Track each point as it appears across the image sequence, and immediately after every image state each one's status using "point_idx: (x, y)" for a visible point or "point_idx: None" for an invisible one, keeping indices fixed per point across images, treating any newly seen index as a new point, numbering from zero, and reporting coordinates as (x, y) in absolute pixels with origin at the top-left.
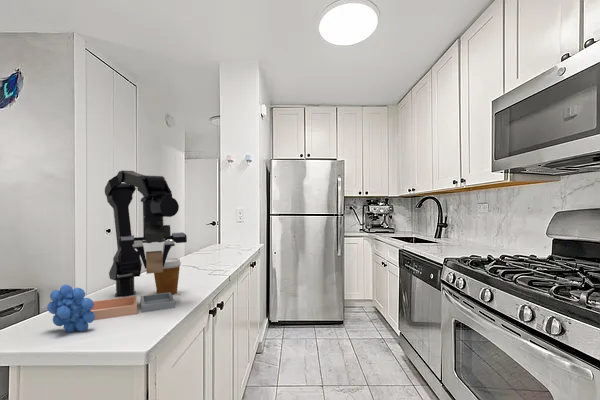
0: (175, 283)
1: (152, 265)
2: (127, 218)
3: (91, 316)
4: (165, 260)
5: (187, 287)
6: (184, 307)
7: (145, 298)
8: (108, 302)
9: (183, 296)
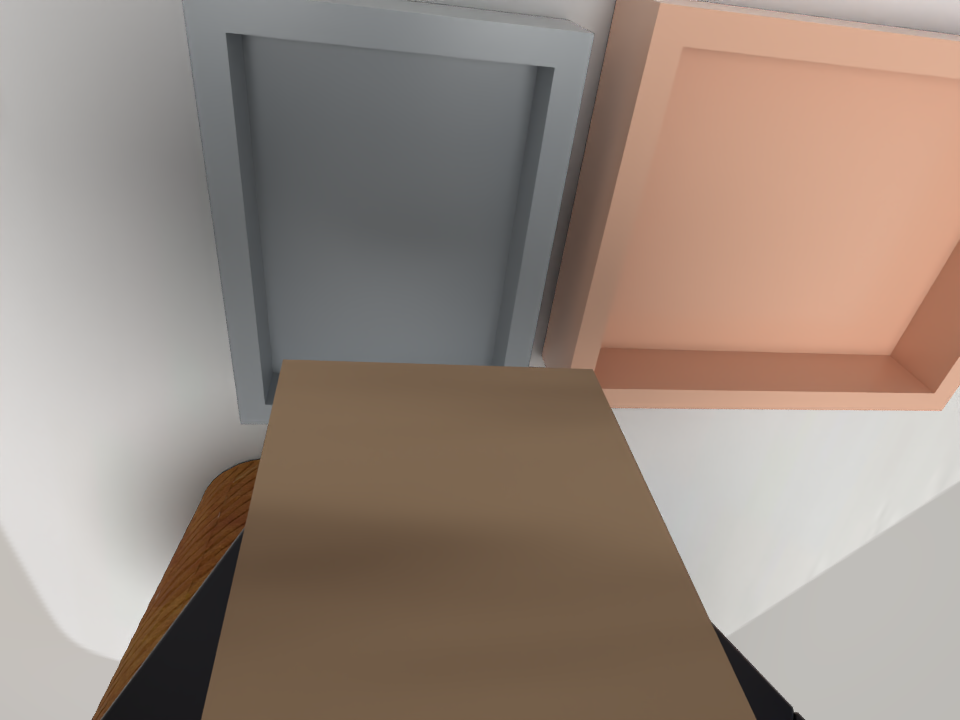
0: (181, 559)
1: (512, 481)
2: None
3: None
4: (160, 639)
5: (119, 628)
6: (90, 6)
7: None
8: (768, 377)
9: (136, 425)
